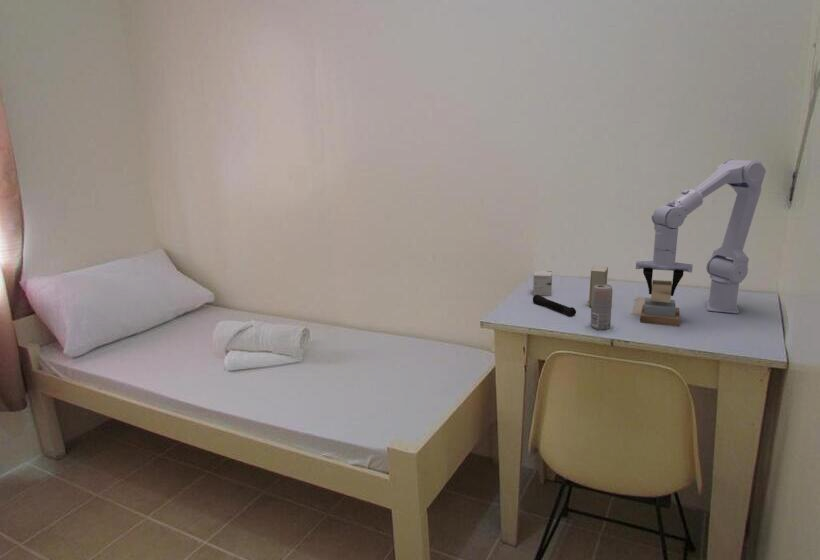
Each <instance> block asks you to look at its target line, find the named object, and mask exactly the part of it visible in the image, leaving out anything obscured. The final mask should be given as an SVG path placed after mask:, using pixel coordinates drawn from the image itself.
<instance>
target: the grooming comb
mask: <svg viewBox="0 0 820 560" xmlns="http://www.w3.org/2000/svg"><path fill="white" fill-rule="evenodd" d="M645 298H648V297H643V296H635V300H633V308H632V310H631V312H630V315H632V316H640V317H641V311H642V306H643V305H644V304H645Z"/></svg>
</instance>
